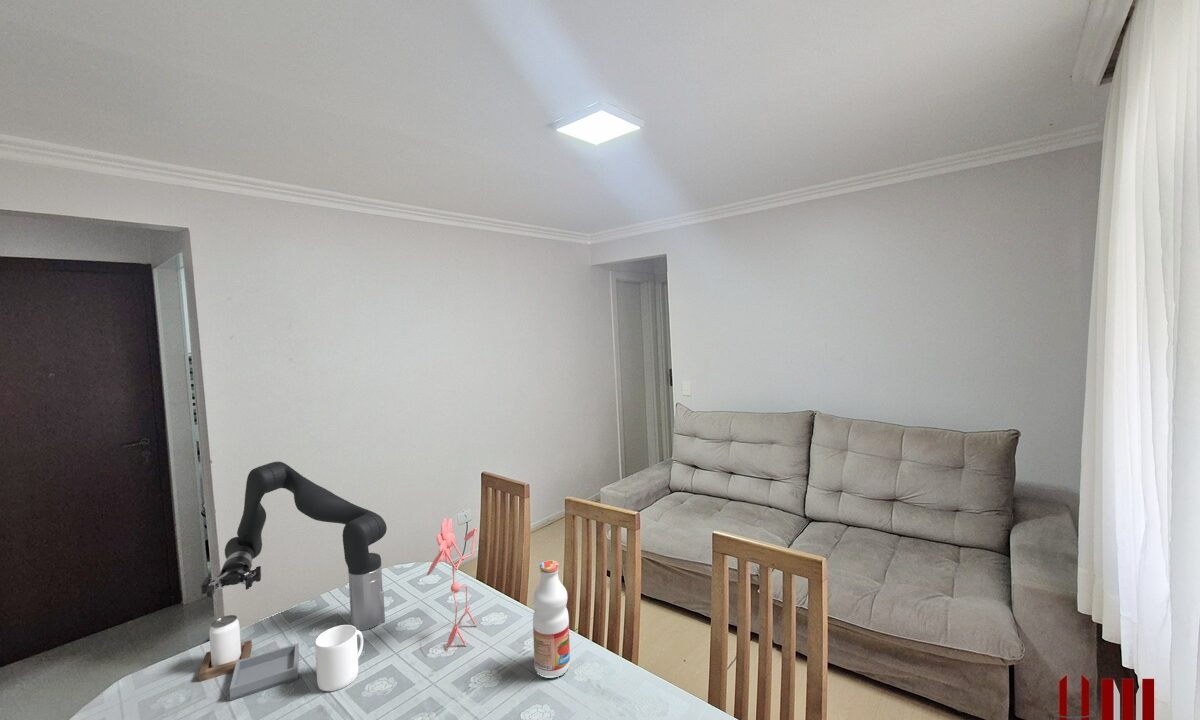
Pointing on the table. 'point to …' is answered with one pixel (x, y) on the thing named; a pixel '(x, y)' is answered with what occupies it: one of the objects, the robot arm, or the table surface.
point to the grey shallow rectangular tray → (265, 671)
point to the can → (225, 640)
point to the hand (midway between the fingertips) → (229, 590)
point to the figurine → (445, 543)
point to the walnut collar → (224, 668)
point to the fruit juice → (550, 623)
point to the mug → (337, 657)
